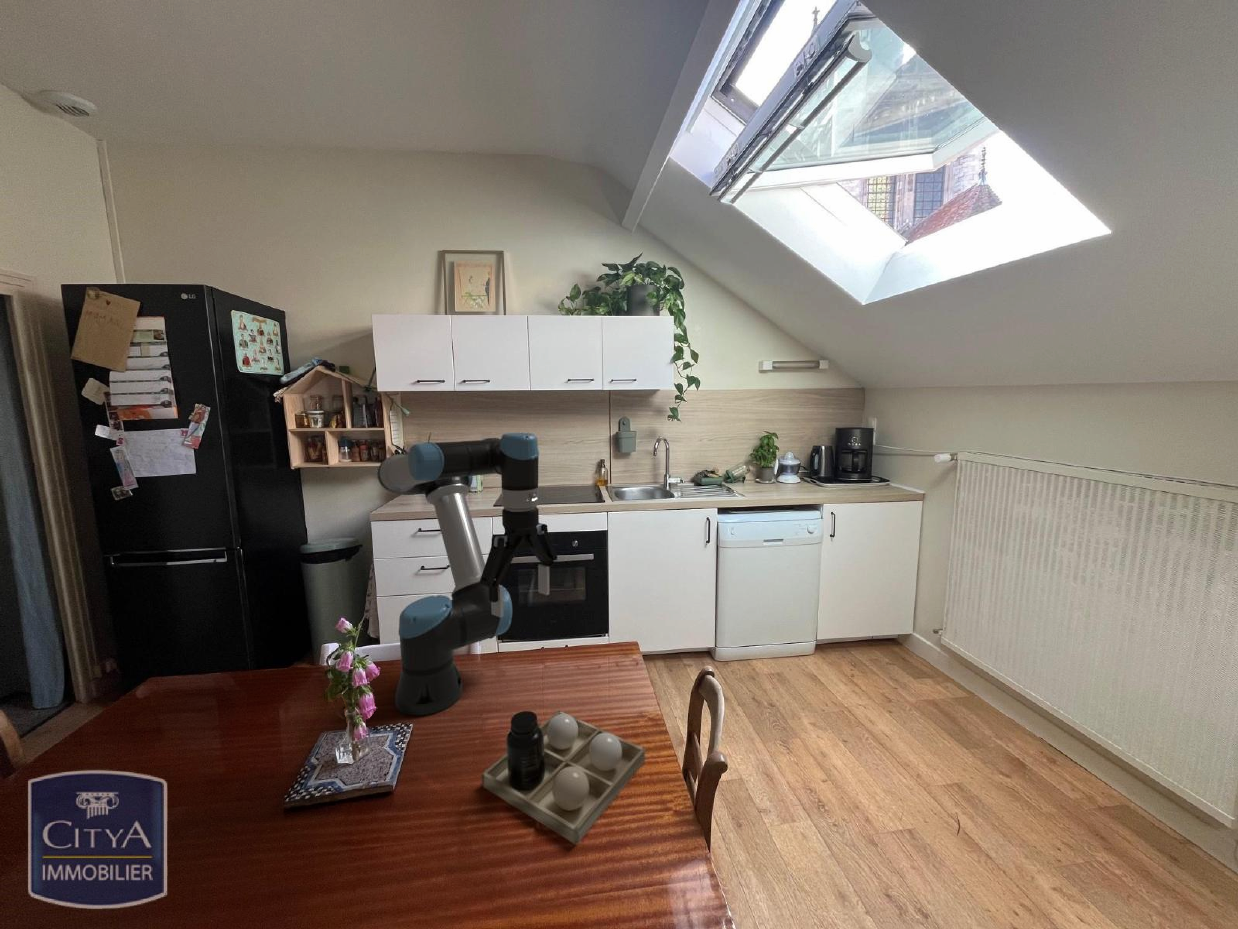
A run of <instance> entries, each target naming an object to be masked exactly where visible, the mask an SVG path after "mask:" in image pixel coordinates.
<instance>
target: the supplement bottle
mask: <svg viewBox="0 0 1238 929" xmlns="http://www.w3.org/2000/svg"><path fill="white" fill-rule="evenodd" d="M505 740H506V741H505V742H506V744H505V745H506V754H507V765H508V780H509V783H510V785H511V786H512V787H513V788H514V789H516V790H520V791H527V790H531V789H533V788H535V787H537V786H538V785H539V784H540V783H541V782H542V781H543V779H544V777H545V756H544V736H543V731H542V729H541V728H540V726H539V723H538V715H537V714H536V713H535V712H533V711H530V710H525V711H519V712H517V713H515V714H514V715H513V716H512V717H511V719H510V731H509V732H508V734H507V736H506V739H505Z"/></svg>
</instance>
